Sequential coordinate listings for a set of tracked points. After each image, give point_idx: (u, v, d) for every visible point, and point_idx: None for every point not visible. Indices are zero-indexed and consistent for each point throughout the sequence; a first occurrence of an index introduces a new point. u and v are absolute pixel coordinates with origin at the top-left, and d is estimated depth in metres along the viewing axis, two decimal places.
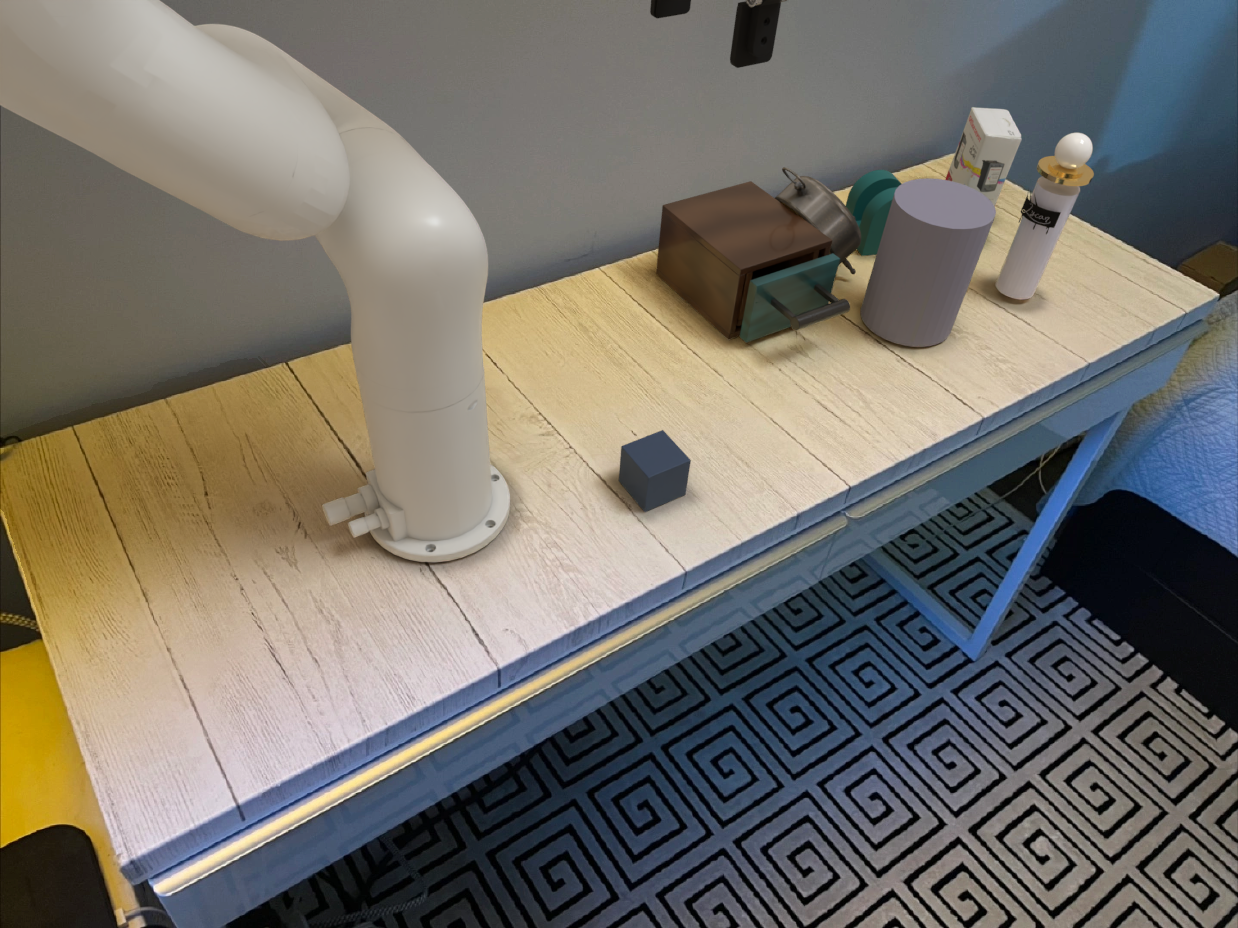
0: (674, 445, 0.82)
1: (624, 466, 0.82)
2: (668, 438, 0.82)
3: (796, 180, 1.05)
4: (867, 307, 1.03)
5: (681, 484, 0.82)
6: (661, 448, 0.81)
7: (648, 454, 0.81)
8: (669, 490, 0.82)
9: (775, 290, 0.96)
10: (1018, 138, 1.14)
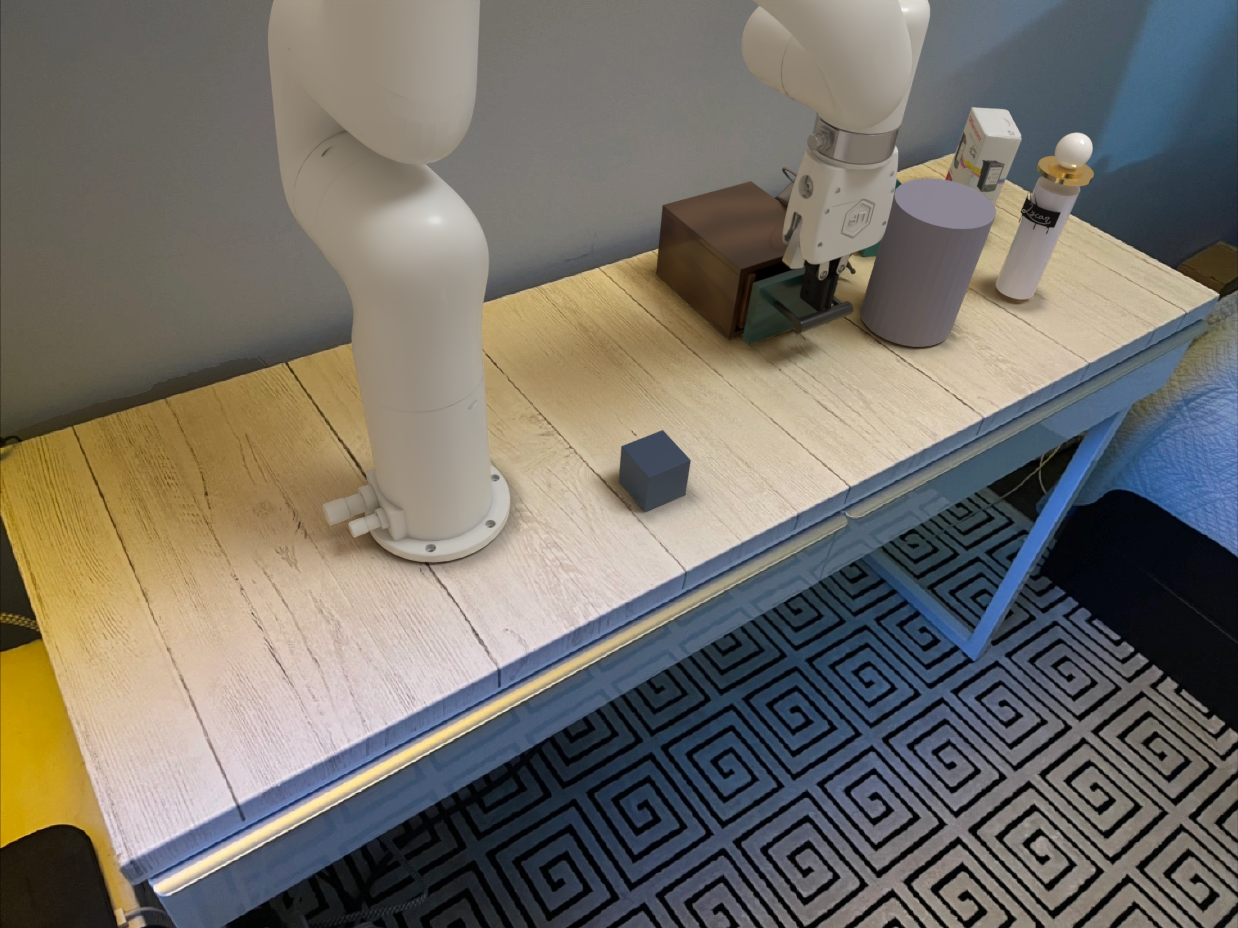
0: (674, 445, 0.82)
1: (624, 466, 0.82)
2: (668, 438, 0.82)
3: None
4: (867, 307, 1.03)
5: (681, 484, 0.82)
6: (661, 448, 0.81)
7: (648, 454, 0.81)
8: (669, 490, 0.82)
9: (778, 292, 0.96)
10: (1018, 138, 1.14)
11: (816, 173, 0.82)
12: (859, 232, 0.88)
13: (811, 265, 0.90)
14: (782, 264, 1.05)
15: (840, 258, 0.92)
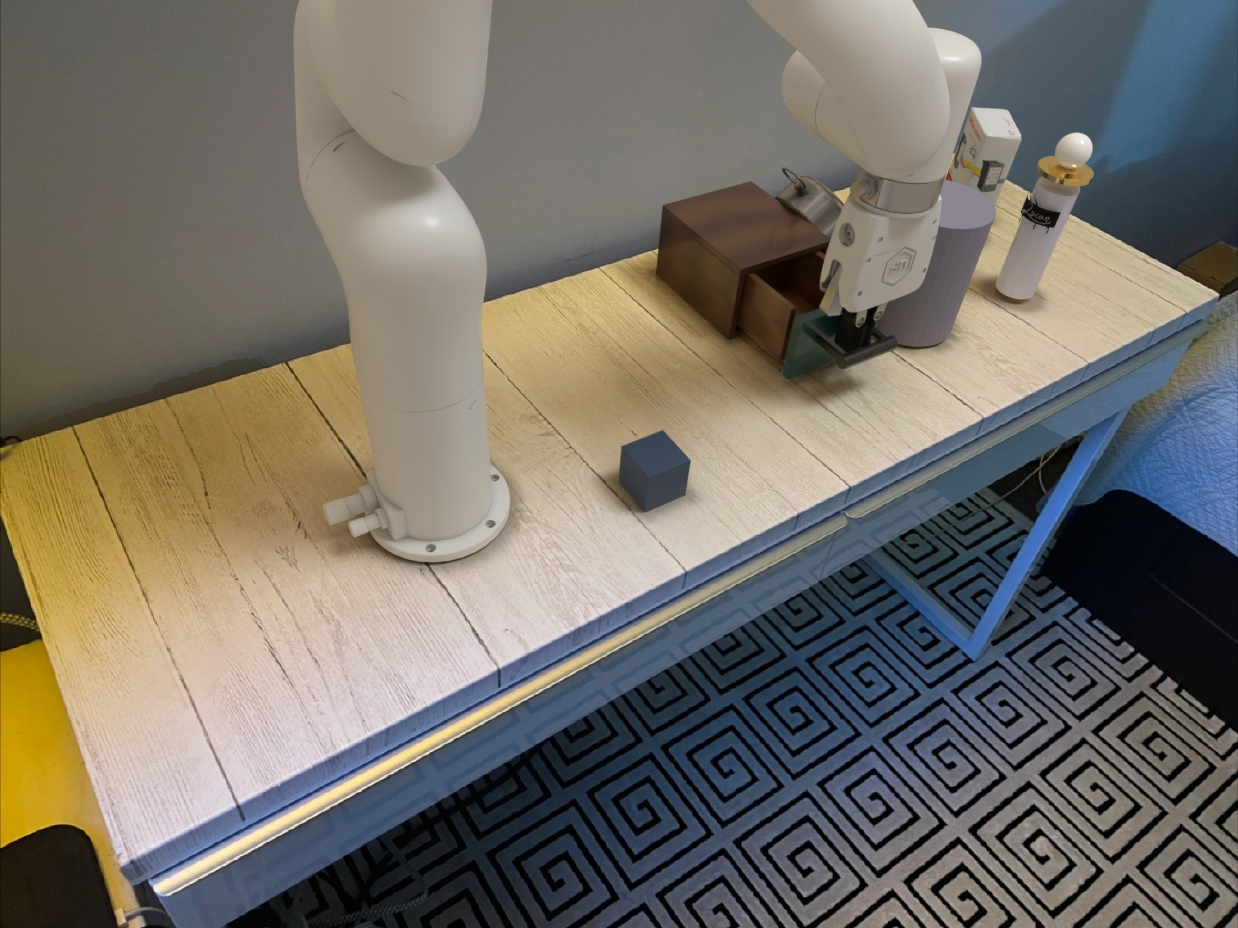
0: (674, 445, 0.82)
1: (624, 466, 0.82)
2: (668, 438, 0.82)
3: (796, 180, 1.05)
4: None
5: (681, 484, 0.82)
6: (661, 448, 0.81)
7: (648, 454, 0.81)
8: (669, 490, 0.82)
9: (820, 327, 0.92)
10: (1018, 138, 1.14)
11: (858, 221, 0.80)
12: (899, 280, 0.86)
13: (849, 312, 0.88)
14: (820, 294, 1.01)
15: (878, 305, 0.89)
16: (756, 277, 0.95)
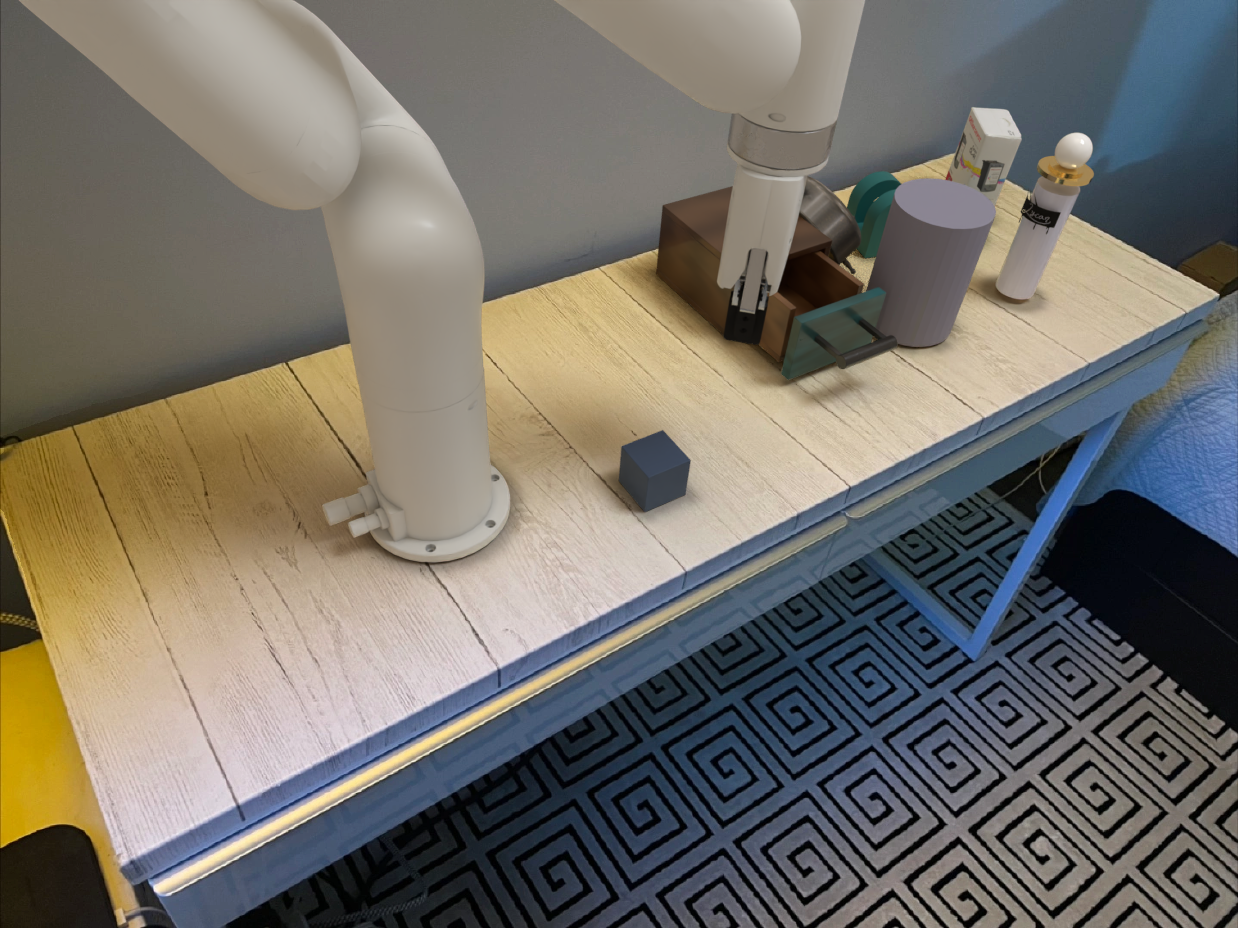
0: (674, 445, 0.82)
1: (624, 466, 0.82)
2: (668, 438, 0.82)
3: None
4: None
5: (681, 484, 0.82)
6: (661, 448, 0.81)
7: (648, 454, 0.81)
8: (669, 490, 0.82)
9: (820, 326, 0.92)
10: (1018, 138, 1.14)
11: None
12: None
13: None
14: (820, 294, 1.01)
15: None
16: None
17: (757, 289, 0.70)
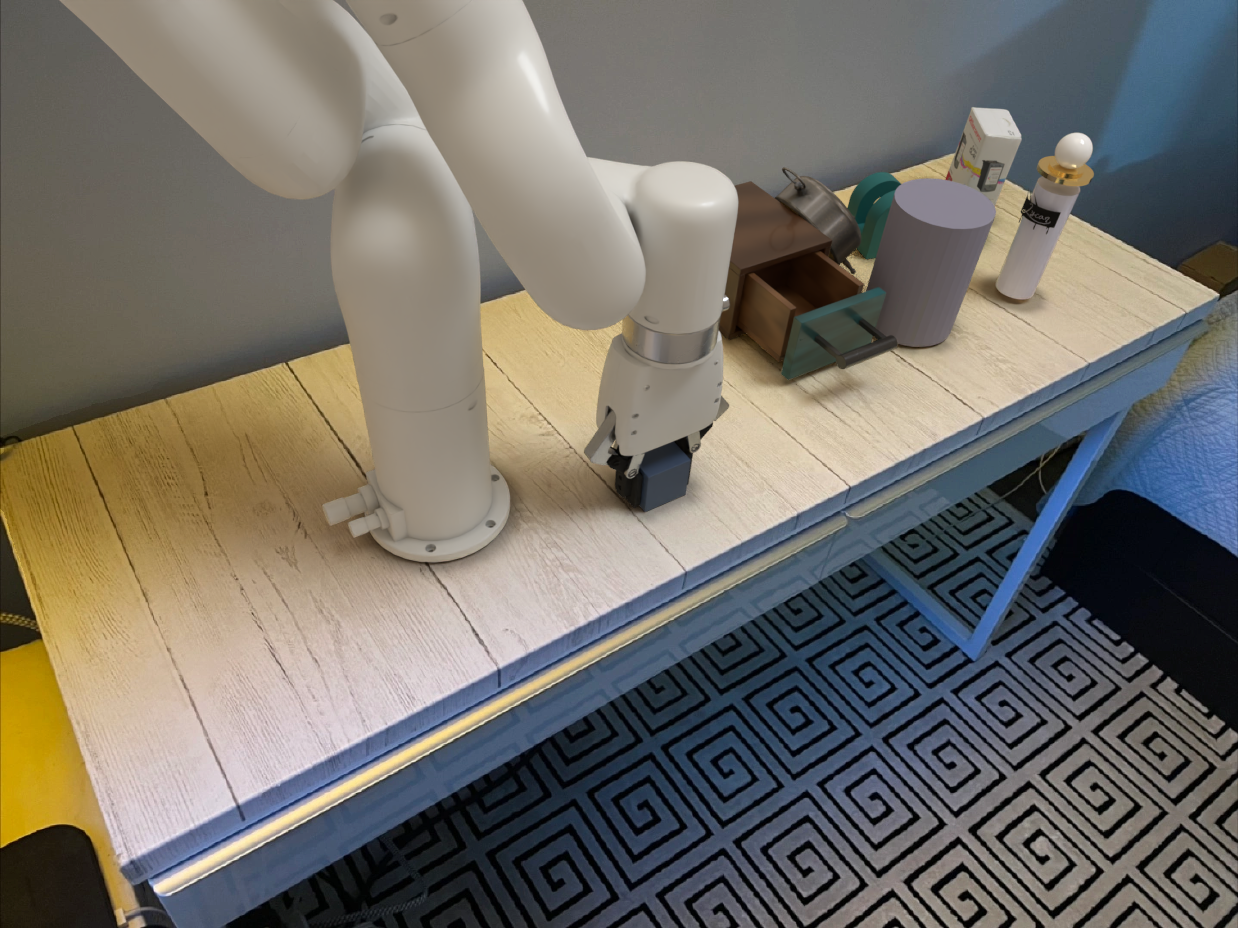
0: (674, 445, 0.82)
1: None
2: None
3: (796, 180, 1.05)
4: None
5: (681, 484, 0.82)
6: (661, 448, 0.81)
7: (648, 454, 0.81)
8: (669, 490, 0.82)
9: (820, 326, 0.92)
10: (1018, 138, 1.14)
11: None
12: None
13: None
14: (820, 294, 1.01)
15: None
16: (755, 277, 0.95)
17: (601, 441, 0.75)
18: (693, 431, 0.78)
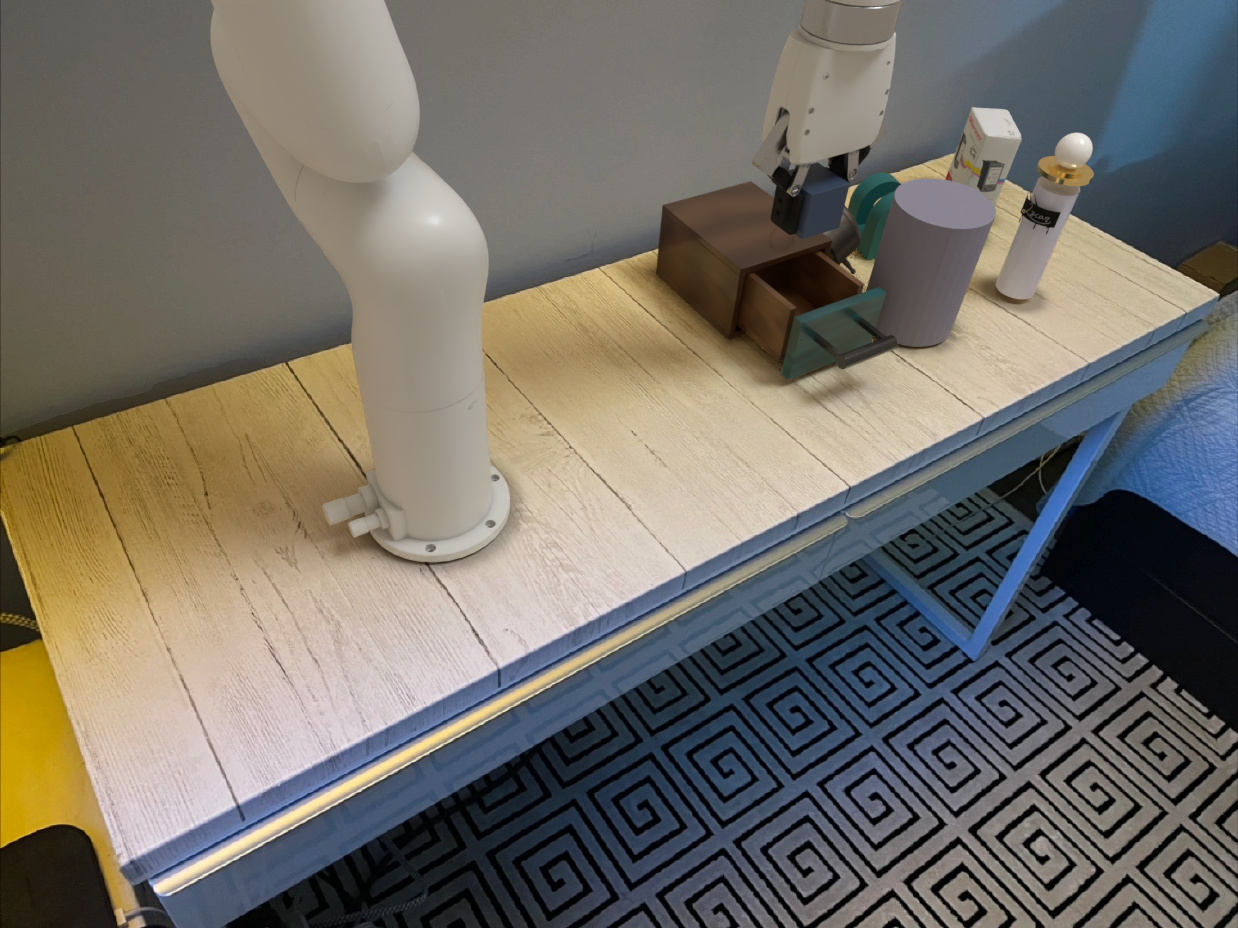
0: (831, 173, 0.83)
1: None
2: (825, 168, 0.84)
3: None
4: None
5: (837, 212, 0.83)
6: (819, 174, 0.83)
7: (807, 178, 0.82)
8: (826, 217, 0.83)
9: (820, 326, 0.92)
10: (1018, 138, 1.14)
11: None
12: None
13: None
14: (820, 294, 1.01)
15: None
16: (755, 277, 0.95)
17: (772, 145, 0.76)
18: (856, 147, 0.80)
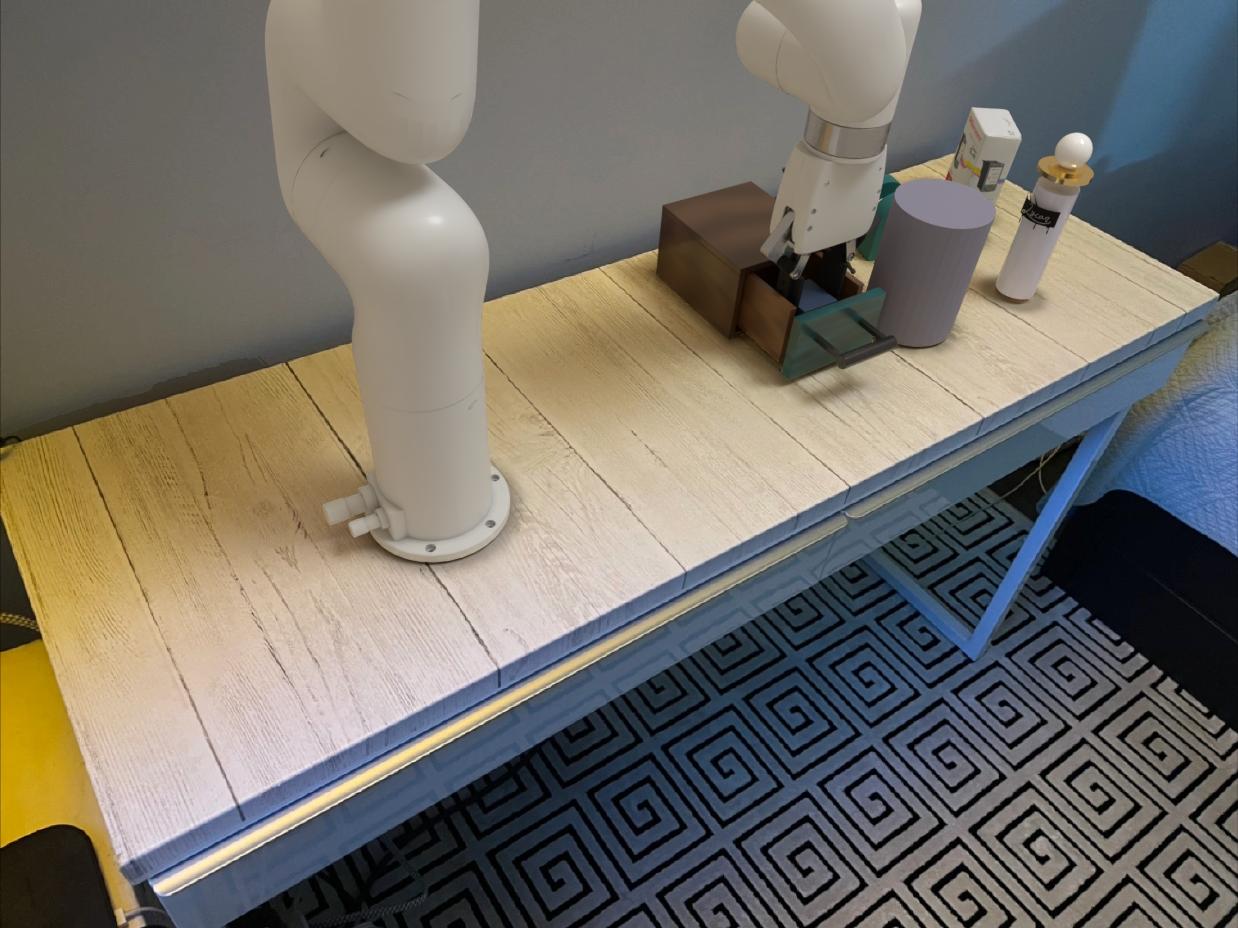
0: (821, 289, 0.97)
1: None
2: (816, 285, 0.98)
3: None
4: None
5: None
6: (811, 291, 0.97)
7: (801, 295, 0.96)
8: None
9: (820, 327, 0.92)
10: (1018, 138, 1.14)
11: None
12: None
13: None
14: None
15: None
16: (755, 277, 0.95)
17: (778, 237, 0.87)
18: (852, 237, 0.91)
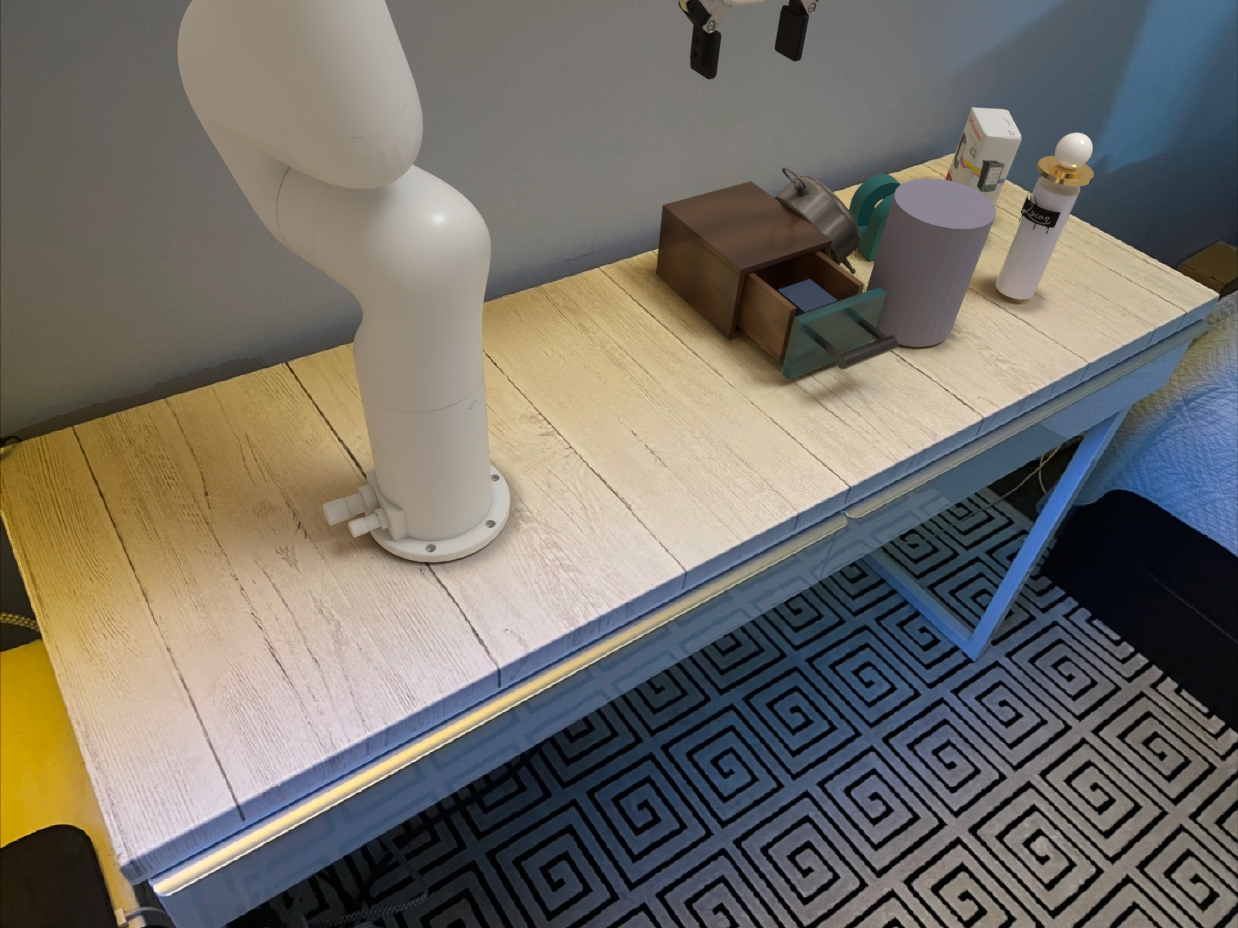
0: (821, 289, 0.97)
1: None
2: (816, 285, 0.98)
3: (796, 180, 1.05)
4: None
5: None
6: (811, 291, 0.97)
7: (801, 295, 0.96)
8: None
9: (820, 327, 0.92)
10: (1018, 138, 1.14)
11: None
12: None
13: None
14: None
15: None
16: (755, 277, 0.95)
17: None
18: None
